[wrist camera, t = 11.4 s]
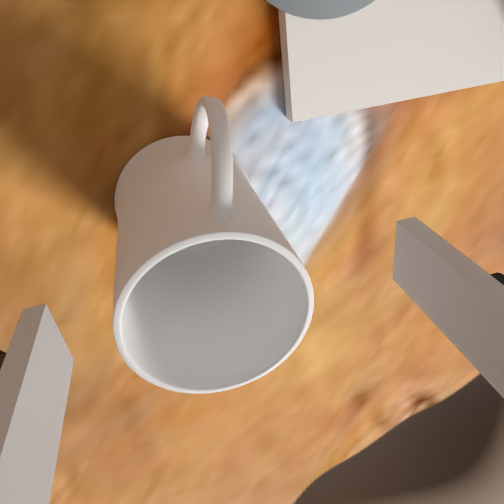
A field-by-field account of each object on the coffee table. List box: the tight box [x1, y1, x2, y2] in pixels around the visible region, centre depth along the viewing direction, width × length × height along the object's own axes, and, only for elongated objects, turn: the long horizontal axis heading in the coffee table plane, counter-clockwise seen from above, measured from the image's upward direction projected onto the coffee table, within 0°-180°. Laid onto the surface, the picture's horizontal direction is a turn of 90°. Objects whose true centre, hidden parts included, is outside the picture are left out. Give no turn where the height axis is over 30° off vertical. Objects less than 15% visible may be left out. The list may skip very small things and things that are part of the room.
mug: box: [113, 96, 314, 393], centre depth 21 cm, size 12×8×12 cm
